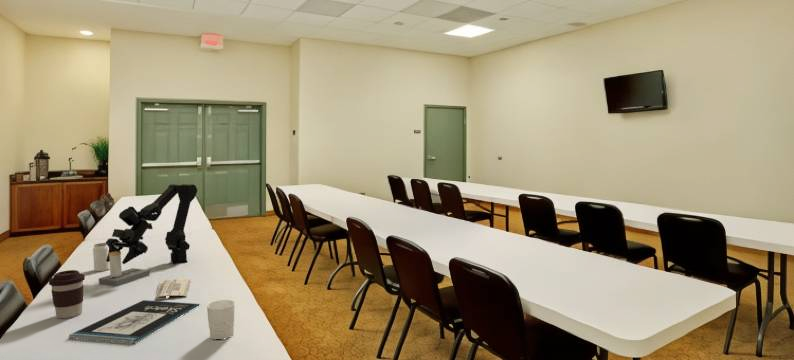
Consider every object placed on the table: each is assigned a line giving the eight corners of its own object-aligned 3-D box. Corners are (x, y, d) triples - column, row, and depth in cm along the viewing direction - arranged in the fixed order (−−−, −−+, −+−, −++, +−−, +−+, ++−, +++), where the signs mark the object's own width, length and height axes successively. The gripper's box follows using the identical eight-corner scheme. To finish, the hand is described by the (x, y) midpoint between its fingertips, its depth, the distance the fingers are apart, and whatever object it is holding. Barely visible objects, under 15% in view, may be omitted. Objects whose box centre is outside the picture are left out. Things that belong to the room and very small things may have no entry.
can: (102, 271, 205) (101, 246, 204) (90, 271, 207) (89, 245, 206) (114, 268, 212) (112, 243, 211) (102, 267, 213) (101, 242, 212)
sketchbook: (199, 307, 164) (199, 301, 164) (134, 347, 132) (133, 340, 132) (143, 303, 168) (143, 297, 167) (66, 341, 136) (65, 334, 136)
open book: (159, 285, 189) (159, 279, 189) (191, 284, 193) (191, 279, 193) (150, 302, 167) (150, 296, 167) (185, 302, 172) (186, 295, 172)
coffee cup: (63, 310, 159) (60, 268, 158) (93, 309, 160) (90, 268, 159) (44, 321, 150) (41, 277, 148) (75, 320, 150) (72, 276, 149)
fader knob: (116, 274, 192) (114, 251, 191) (122, 275, 191) (120, 251, 190) (110, 276, 189) (108, 252, 188) (116, 277, 188) (114, 253, 187)
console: (132, 273, 203) (132, 267, 203) (149, 275, 200) (149, 270, 200) (99, 284, 188) (98, 278, 188) (116, 286, 185) (116, 280, 185)
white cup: (225, 328, 144) (224, 298, 143) (240, 334, 139) (239, 303, 139) (203, 337, 137) (201, 305, 137) (218, 343, 133) (217, 311, 132)
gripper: (108, 220, 196) (85, 250, 187) (140, 222, 190) (118, 254, 180) (125, 234, 204) (104, 264, 195) (157, 237, 198) (136, 268, 189)
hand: (115, 262), depth 189 cm, fingers open, 9 cm apart
